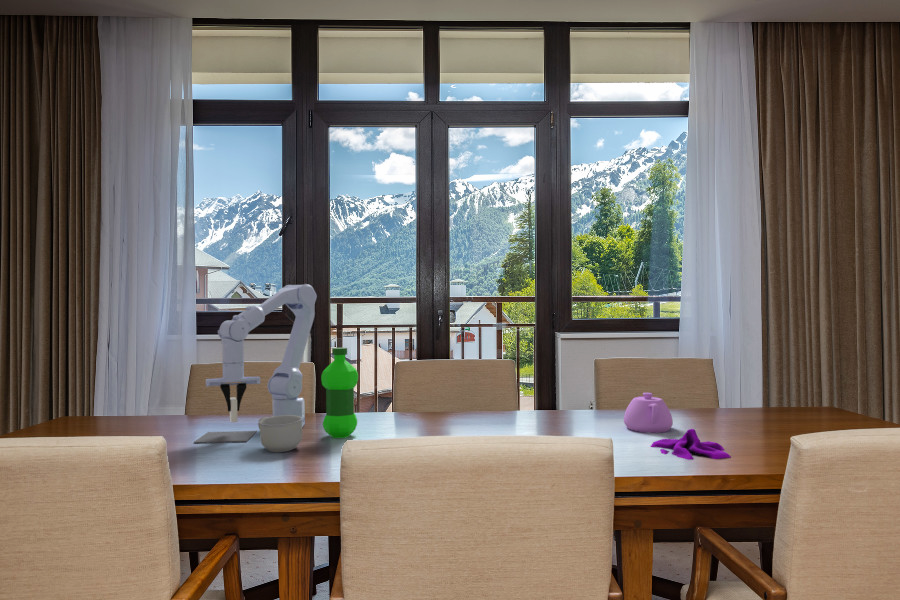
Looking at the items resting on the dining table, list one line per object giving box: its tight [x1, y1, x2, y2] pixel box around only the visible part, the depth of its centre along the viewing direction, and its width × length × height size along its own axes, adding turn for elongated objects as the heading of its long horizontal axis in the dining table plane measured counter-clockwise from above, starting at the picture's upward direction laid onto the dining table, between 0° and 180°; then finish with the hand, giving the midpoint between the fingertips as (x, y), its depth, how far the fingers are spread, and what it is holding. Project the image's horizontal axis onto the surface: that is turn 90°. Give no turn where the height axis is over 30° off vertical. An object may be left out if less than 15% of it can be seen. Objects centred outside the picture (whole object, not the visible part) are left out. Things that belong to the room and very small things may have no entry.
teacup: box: [257, 415, 303, 453], centre depth 164 cm, size 14×11×8 cm
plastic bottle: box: [320, 347, 359, 439], centre depth 178 cm, size 10×10×25 cm
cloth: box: [650, 428, 732, 461], centre depth 157 cm, size 22×19×6 cm
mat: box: [193, 430, 258, 444], centre depth 177 cm, size 14×13×1 cm
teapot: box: [623, 392, 674, 434], centre depth 186 cm, size 14×20×11 cm
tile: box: [229, 396, 238, 423], centre depth 178 cm, size 8×2×6 cm, turn 22°
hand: (233, 410), depth 178 cm, fingers closed on tile, 2 cm apart
